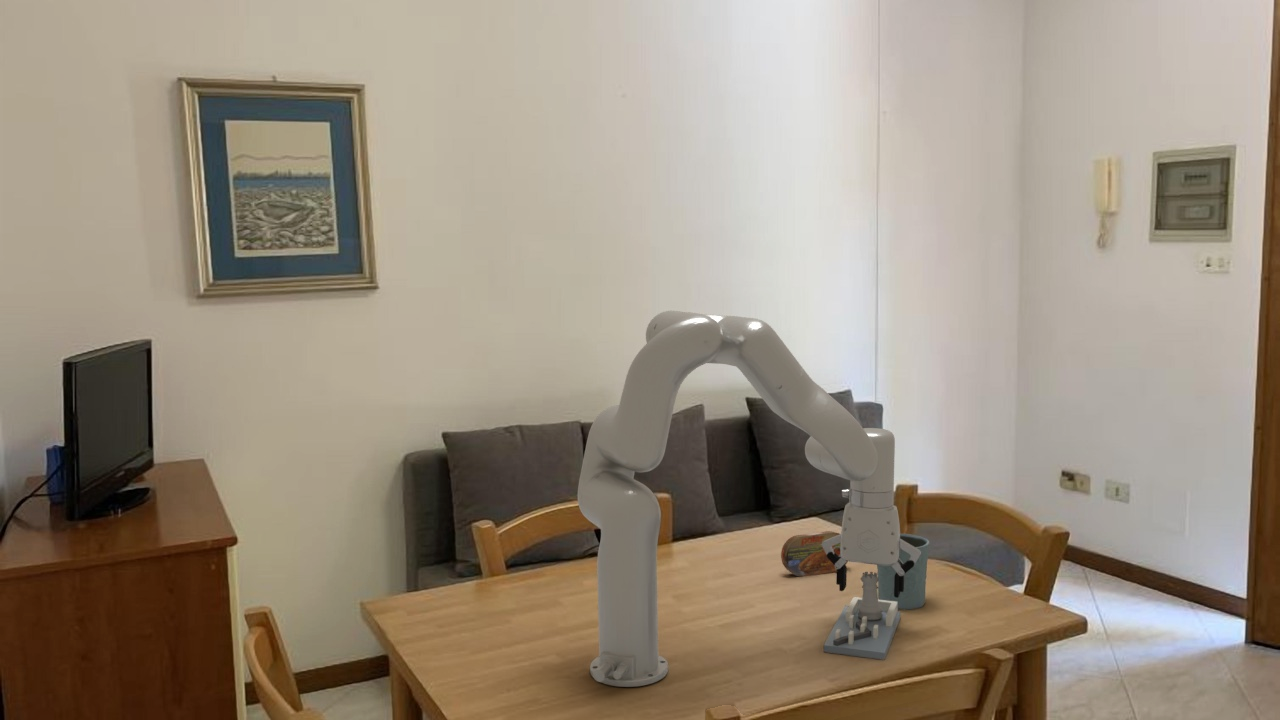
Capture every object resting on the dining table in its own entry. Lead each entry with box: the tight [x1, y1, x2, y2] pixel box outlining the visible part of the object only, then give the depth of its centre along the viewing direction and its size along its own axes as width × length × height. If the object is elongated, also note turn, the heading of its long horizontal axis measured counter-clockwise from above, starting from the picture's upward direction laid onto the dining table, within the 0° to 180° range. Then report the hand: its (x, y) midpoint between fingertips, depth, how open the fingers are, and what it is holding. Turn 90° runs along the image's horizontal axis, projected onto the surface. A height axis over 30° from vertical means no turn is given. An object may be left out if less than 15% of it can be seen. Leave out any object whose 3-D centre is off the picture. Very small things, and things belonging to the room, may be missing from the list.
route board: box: [823, 596, 901, 661], centre depth 180 cm, size 20×10×3 cm, turn 159°
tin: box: [780, 530, 849, 578], centre depth 214 cm, size 15×3×8 cm, turn 108°
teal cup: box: [876, 533, 930, 610], centre depth 196 cm, size 10×10×12 cm
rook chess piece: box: [858, 571, 883, 621], centre depth 185 cm, size 4×4×8 cm
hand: (869, 591), depth 184 cm, fingers open, 9 cm apart
